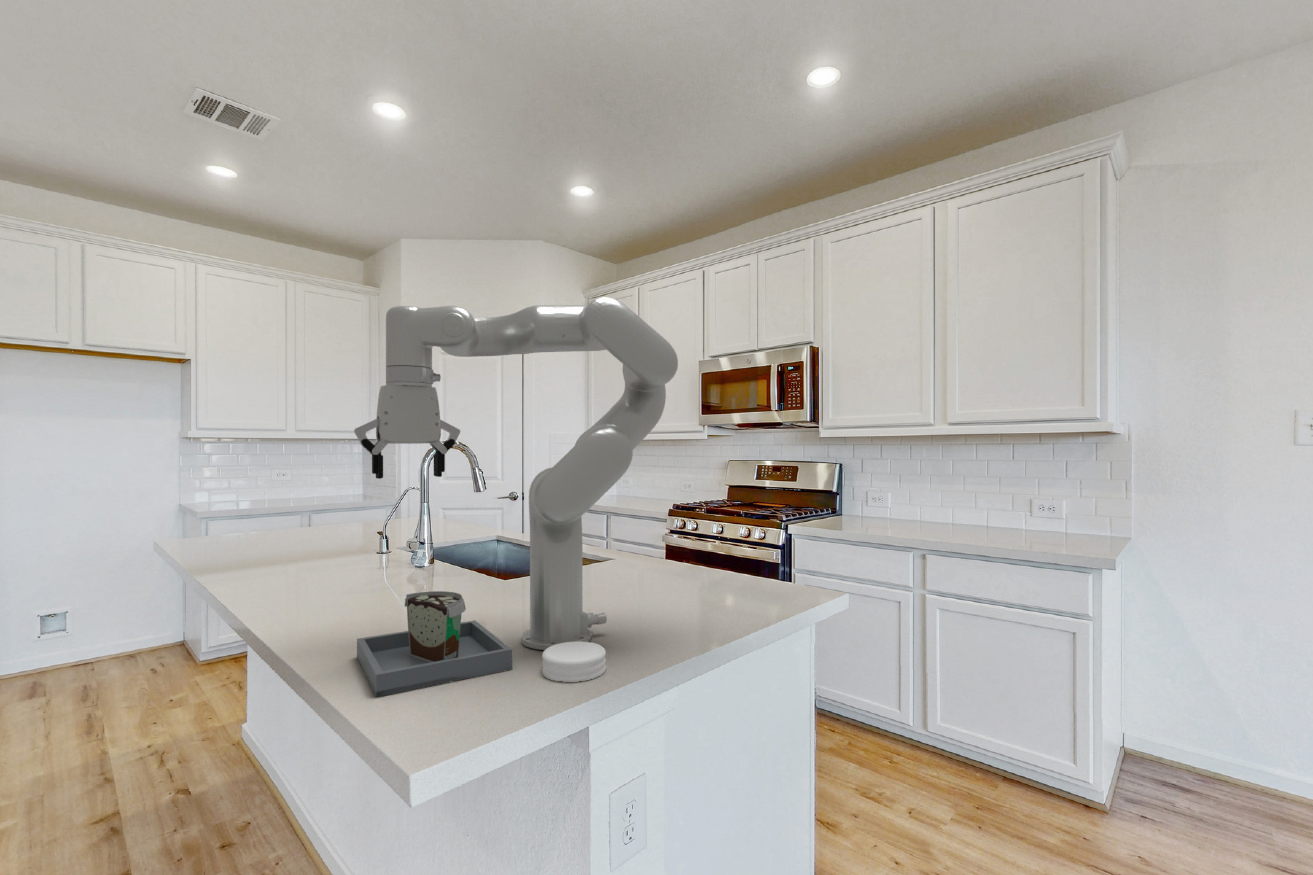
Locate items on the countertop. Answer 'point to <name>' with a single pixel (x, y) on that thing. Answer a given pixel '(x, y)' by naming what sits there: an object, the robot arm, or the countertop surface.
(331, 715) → the countertop surface
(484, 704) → the countertop surface
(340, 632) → the countertop surface
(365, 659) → the tray
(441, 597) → the food container
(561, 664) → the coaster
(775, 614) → the countertop surface
